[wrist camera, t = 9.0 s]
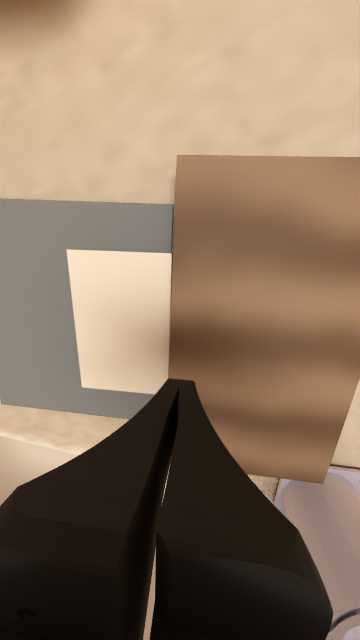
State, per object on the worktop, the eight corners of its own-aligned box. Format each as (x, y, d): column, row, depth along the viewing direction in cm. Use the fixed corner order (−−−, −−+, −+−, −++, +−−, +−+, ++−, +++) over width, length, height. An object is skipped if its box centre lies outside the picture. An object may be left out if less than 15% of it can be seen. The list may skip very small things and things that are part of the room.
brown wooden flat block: (306, 452, 20) (323, 484, 18) (169, 436, 22) (164, 463, 19) (386, 180, 14) (435, 158, 11) (181, 175, 15) (176, 154, 12)
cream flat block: (170, 385, 19) (167, 395, 18) (90, 378, 20) (81, 387, 19) (174, 254, 16) (171, 253, 15) (77, 250, 17) (66, 249, 15)
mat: (165, 420, 21) (164, 423, 21) (4, 401, 22) (1, 404, 22) (173, 205, 15) (172, 204, 15) (-42, 198, 17) (-47, 197, 16)
